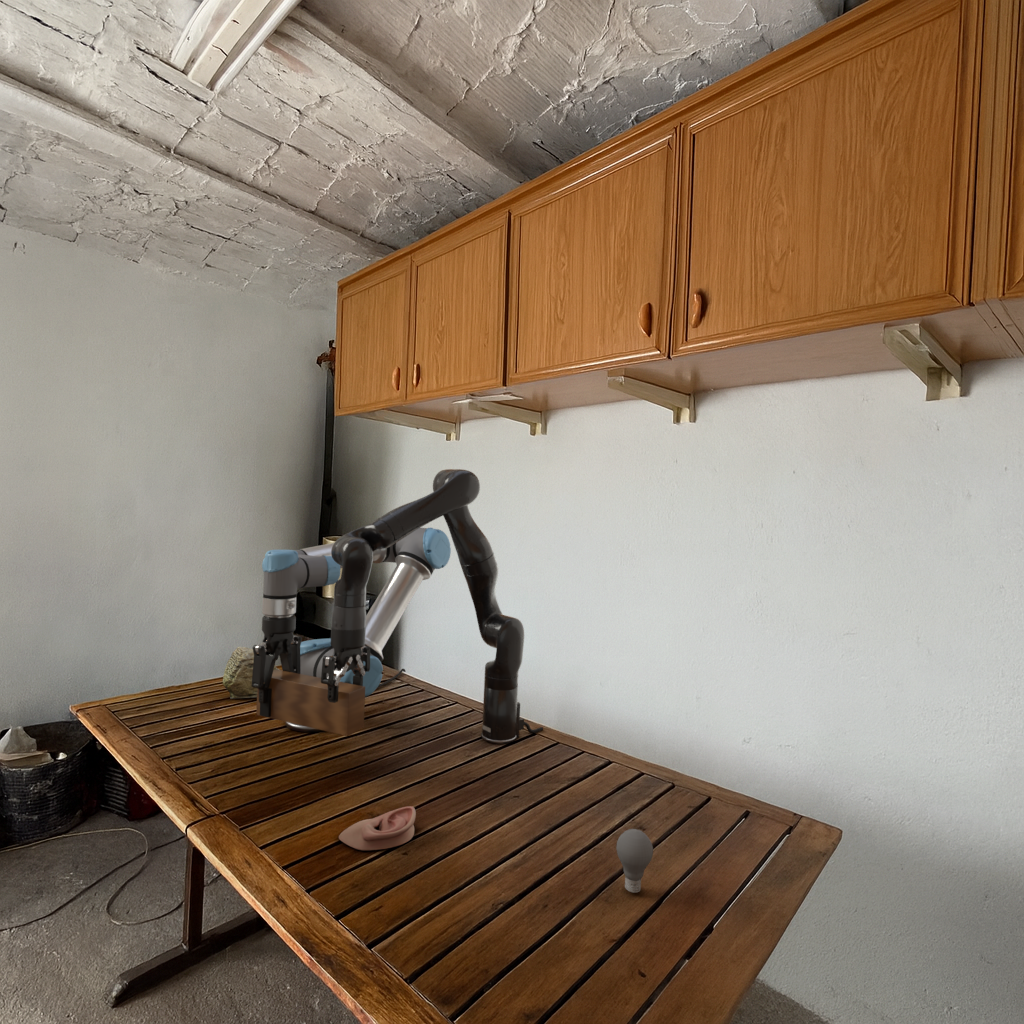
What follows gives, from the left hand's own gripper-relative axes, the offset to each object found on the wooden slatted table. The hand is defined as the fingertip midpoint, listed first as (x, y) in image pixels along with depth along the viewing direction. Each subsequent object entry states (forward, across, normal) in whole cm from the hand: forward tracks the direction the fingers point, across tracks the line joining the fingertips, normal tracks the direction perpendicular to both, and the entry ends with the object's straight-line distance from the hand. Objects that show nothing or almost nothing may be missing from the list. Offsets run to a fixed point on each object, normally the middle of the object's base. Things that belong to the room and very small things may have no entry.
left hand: (275, 711), depth 151 cm
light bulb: (+12, -11, -89) cm, 90 cm away
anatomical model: (+12, -16, -42) cm, 46 cm away
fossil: (+12, +34, +41) cm, 54 cm away
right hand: (-7, 0, -20) cm, 21 cm away
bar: (0, 0, -10) cm, 10 cm away
